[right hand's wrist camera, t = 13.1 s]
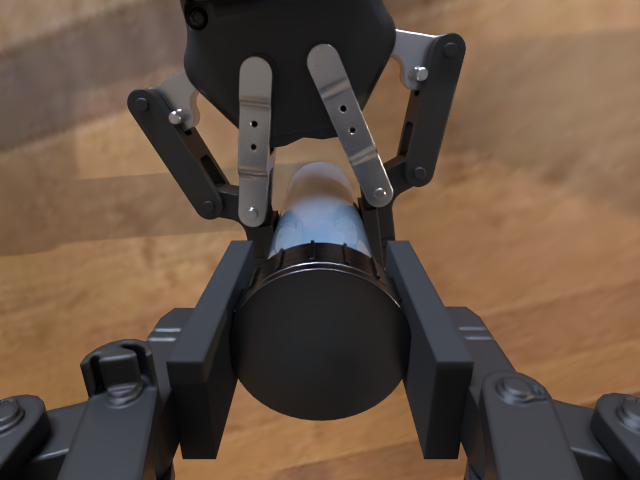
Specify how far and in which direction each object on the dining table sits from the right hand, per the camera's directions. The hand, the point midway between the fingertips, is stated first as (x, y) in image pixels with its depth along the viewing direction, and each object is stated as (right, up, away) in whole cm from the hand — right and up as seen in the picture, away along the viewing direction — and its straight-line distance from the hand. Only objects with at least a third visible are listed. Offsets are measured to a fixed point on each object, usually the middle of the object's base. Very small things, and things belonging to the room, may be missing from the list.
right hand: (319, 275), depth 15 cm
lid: (0, -1, -4) cm, 4 cm away
